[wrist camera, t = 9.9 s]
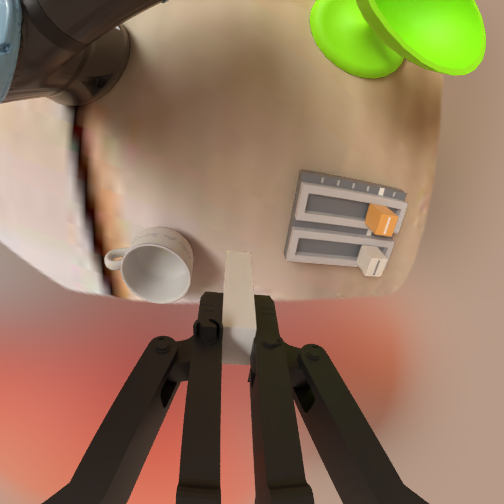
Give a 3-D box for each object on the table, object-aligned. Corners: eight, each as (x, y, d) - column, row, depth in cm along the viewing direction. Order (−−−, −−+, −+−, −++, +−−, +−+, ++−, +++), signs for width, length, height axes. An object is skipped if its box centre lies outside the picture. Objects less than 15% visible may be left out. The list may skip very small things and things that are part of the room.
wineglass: (297, 54, 30) (342, 20, 15) (322, -26, 23) (369, -81, 7) (394, 95, 33) (476, 104, 17) (413, 18, 25) (487, 1, 10)
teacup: (206, 233, 43) (200, 260, 37) (186, 284, 48) (179, 315, 41) (126, 203, 40) (106, 225, 33) (114, 257, 45) (97, 284, 38)
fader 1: (366, 200, 39) (381, 213, 35) (382, 203, 39) (398, 217, 35) (361, 219, 41) (375, 234, 36) (377, 221, 41) (392, 237, 36)
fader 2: (359, 241, 43) (371, 258, 38) (374, 243, 43) (387, 259, 38) (353, 258, 44) (365, 276, 40) (368, 259, 45) (380, 277, 40)
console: (300, 169, 39) (305, 175, 36) (400, 189, 41) (410, 196, 38) (283, 252, 46) (286, 262, 43) (377, 260, 48) (384, 270, 45)
